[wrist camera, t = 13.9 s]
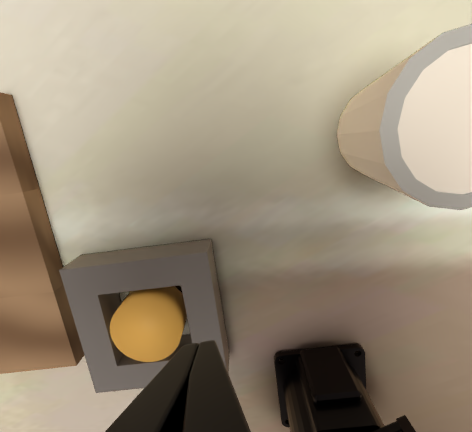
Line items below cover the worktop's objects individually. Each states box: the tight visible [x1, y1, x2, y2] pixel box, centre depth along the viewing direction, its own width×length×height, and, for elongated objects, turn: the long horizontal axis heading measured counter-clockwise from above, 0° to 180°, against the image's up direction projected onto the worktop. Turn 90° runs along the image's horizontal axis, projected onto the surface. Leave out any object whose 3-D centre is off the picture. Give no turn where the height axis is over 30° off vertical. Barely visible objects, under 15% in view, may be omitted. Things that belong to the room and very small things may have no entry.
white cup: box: [337, 24, 472, 210], centre depth 14 cm, size 7×7×7 cm
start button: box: [110, 286, 187, 362], centre depth 19 cm, size 4×4×2 cm
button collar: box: [59, 239, 229, 393], centre depth 19 cm, size 9×9×2 cm
